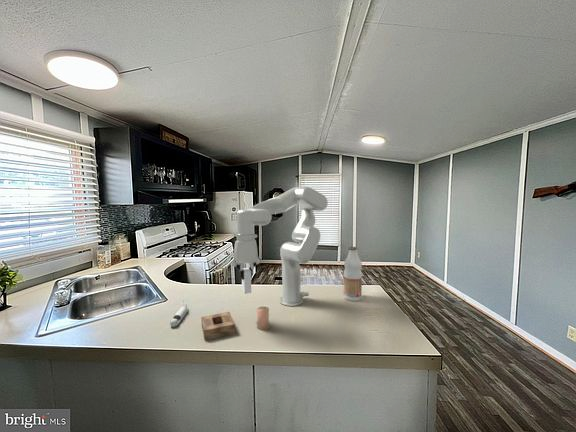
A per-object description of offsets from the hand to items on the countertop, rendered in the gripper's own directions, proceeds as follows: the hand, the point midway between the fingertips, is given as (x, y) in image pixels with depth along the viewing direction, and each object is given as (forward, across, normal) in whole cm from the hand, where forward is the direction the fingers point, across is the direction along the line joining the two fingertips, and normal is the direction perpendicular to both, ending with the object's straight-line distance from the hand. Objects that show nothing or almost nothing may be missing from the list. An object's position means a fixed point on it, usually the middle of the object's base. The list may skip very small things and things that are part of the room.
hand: (246, 277), depth 115 cm
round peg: (+19, -5, +10) cm, 22 cm away
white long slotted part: (+20, +28, -14) cm, 37 cm away
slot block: (+19, +13, +4) cm, 24 cm away
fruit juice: (+19, -59, +1) cm, 62 cm away
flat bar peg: (+6, 0, 0) cm, 6 cm away
